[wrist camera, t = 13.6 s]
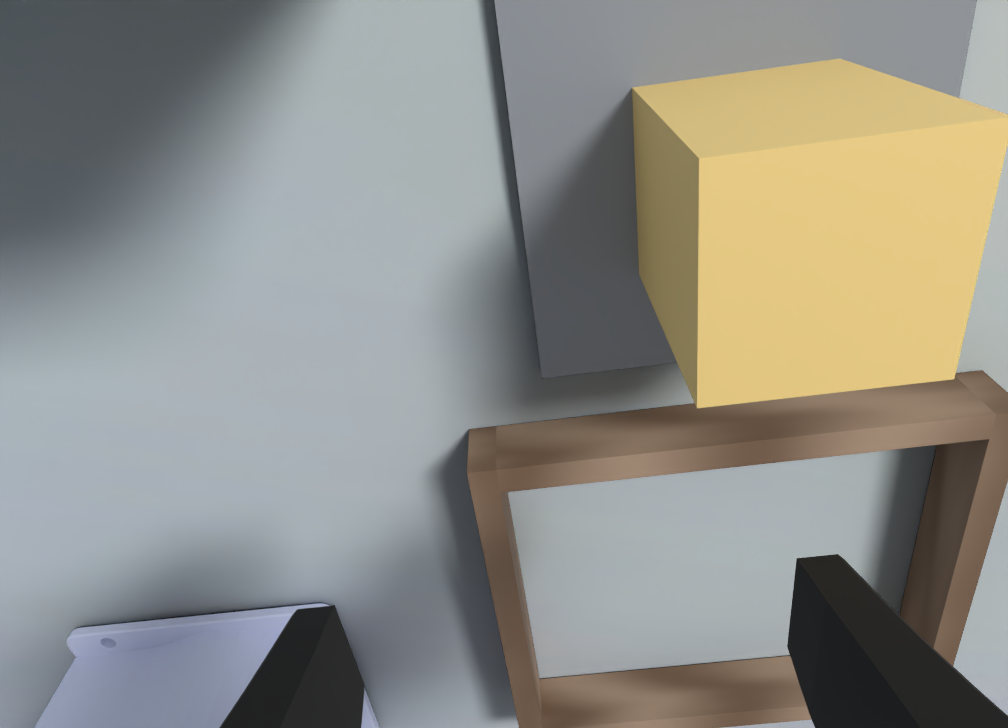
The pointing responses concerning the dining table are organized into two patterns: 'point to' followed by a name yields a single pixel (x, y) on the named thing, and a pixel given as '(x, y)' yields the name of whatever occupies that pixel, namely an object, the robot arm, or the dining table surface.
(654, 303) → the ochre block
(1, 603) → the dining table surface
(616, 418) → the wooden picture frame
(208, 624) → the robot arm
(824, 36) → the mat
